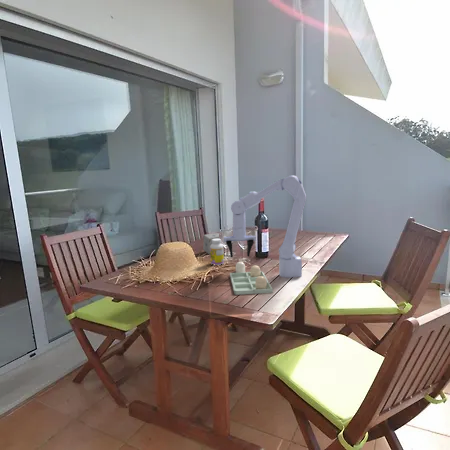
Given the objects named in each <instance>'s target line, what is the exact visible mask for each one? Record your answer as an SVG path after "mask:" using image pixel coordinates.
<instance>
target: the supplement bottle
mask: <svg viewBox="0 0 450 450" xmlns="http://www.w3.org/2000/svg"><path fill="white" fill-rule="evenodd" d="M209 255H210V264H211V265H212V264H215V265H219V266H222V265H224V262H225V257H224V255H225V254H224V244H223V245H222V244H221V239H218V238H216V239H212V244H211V246H210V254H209ZM221 264H222V265H221ZM215 265H214V266H215Z"/></svg>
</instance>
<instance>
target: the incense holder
mask: <svg viewBox="0 0 450 450" xmlns="http://www.w3.org/2000/svg"><path fill="white" fill-rule="evenodd" d="M219 234H220V233H219V232H216V233H215V232H214V233H207V234H204V235H203V246H202V247H203V249H202V250H203V251H204V252H206V253H207V254H208V255H210V246H211V244H212V239H216V238H218V239H220V238H219Z"/></svg>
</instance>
